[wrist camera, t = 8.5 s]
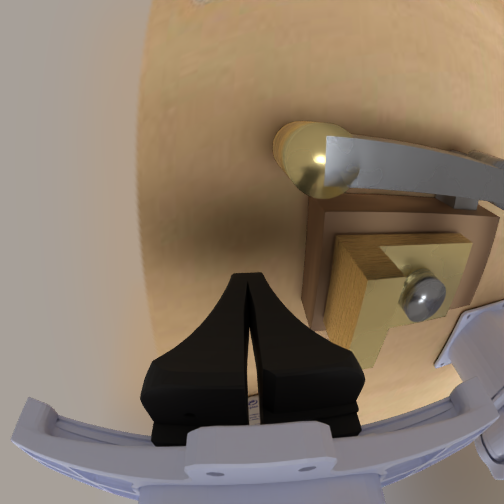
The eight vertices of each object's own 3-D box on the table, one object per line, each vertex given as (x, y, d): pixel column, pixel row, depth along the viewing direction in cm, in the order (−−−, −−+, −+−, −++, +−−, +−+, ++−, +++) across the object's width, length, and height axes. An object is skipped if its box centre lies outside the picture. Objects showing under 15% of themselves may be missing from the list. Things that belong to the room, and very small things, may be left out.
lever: (272, 118, 10) (287, 117, 7) (507, 161, 11) (545, 177, 8) (272, 177, 11) (285, 201, 8) (501, 197, 12) (537, 218, 9)
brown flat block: (479, 156, 13) (508, 167, 10) (450, 283, 18) (469, 304, 15) (310, 129, 12) (328, 133, 10) (301, 299, 17) (310, 331, 15)
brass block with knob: (460, 233, 12) (500, 265, 9) (436, 304, 14) (464, 342, 11) (335, 235, 12) (367, 280, 8) (322, 321, 14) (341, 373, 11)
